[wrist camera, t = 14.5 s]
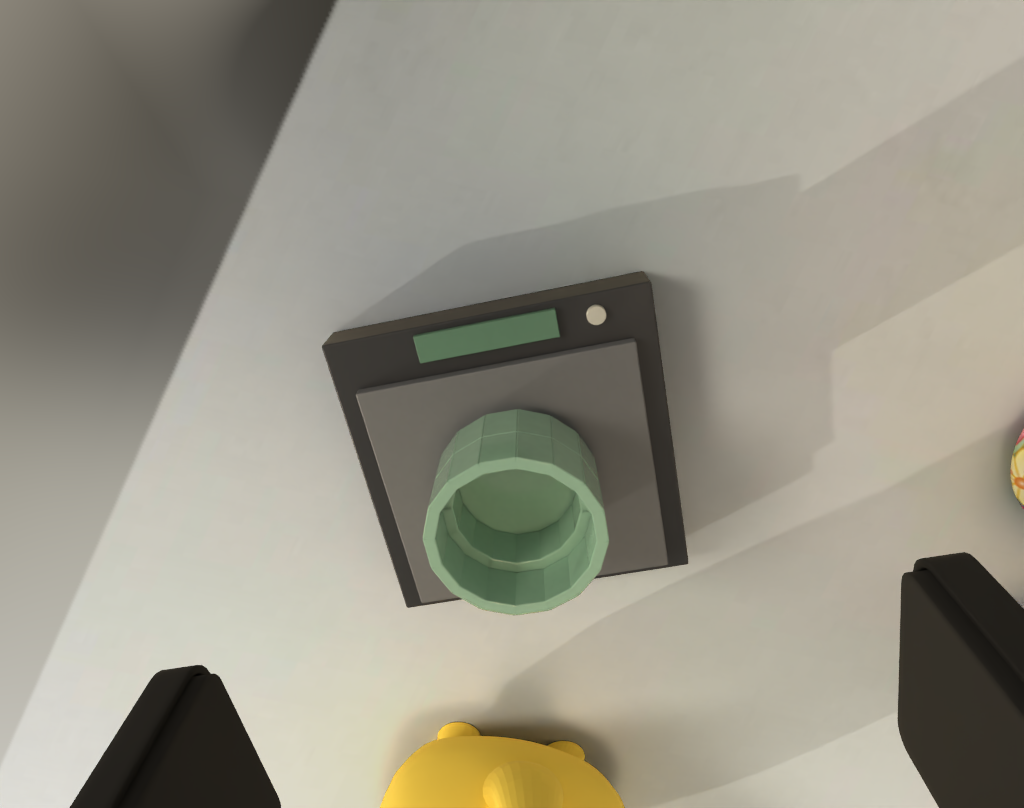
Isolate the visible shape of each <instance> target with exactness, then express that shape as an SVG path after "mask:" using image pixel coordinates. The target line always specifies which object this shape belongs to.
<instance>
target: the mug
mask: <svg viewBox="0 0 1024 808" xmlns="http://www.w3.org/2000/svg"><path fill="white" fill-rule="evenodd" d="M1010 473H1011V483H1012V488H1013V491H1014V494H1015V496H1016V498H1017V500H1018V501H1019V503H1020V504H1021V506H1022V507H1023V509H1024V429H1023V431H1022V432H1021V434H1020V436H1019V438H1018V440H1017V443H1016V445H1015V448H1014V452H1013V456H1012V461H1011V471H1010Z"/></svg>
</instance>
